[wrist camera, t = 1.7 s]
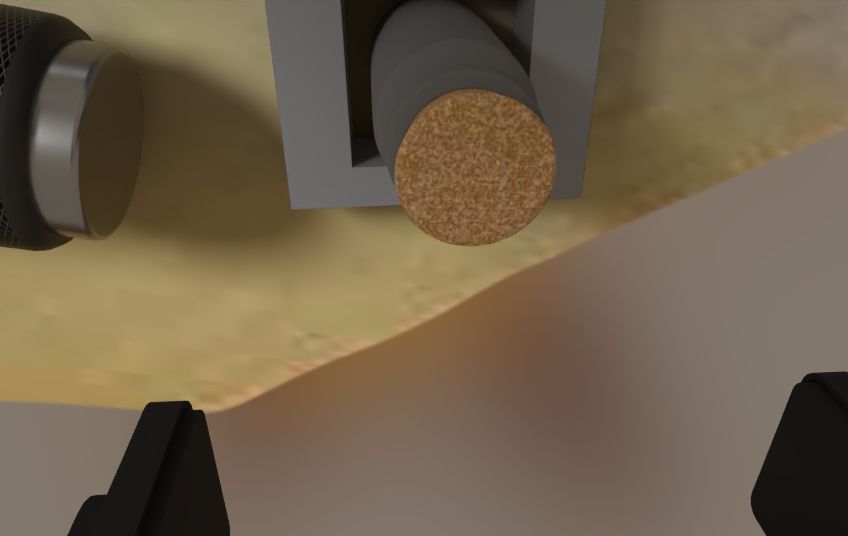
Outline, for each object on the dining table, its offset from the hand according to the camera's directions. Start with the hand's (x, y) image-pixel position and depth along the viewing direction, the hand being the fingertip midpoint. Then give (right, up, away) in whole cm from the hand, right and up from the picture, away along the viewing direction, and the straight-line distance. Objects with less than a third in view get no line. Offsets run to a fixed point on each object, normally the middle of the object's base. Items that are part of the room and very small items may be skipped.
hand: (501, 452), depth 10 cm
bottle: (-1, +13, +21) cm, 25 cm away
